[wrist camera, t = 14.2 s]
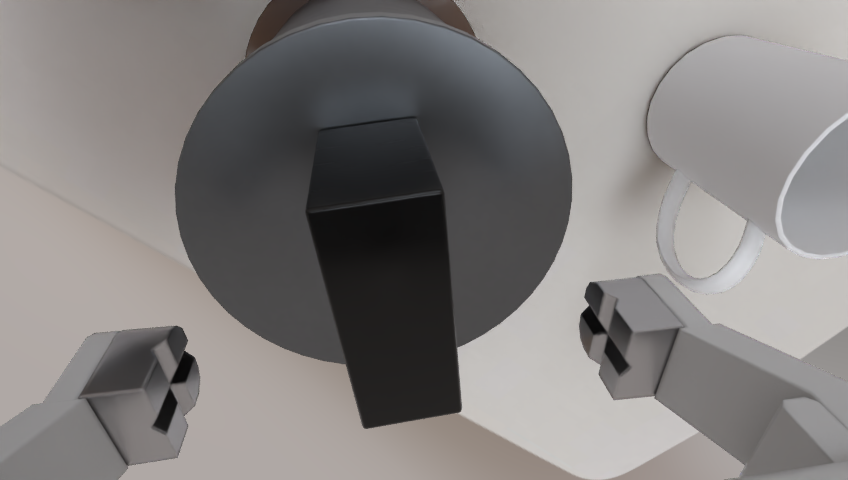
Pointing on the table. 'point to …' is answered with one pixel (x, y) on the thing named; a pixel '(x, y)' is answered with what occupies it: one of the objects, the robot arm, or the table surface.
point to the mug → (755, 149)
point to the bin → (374, 197)
